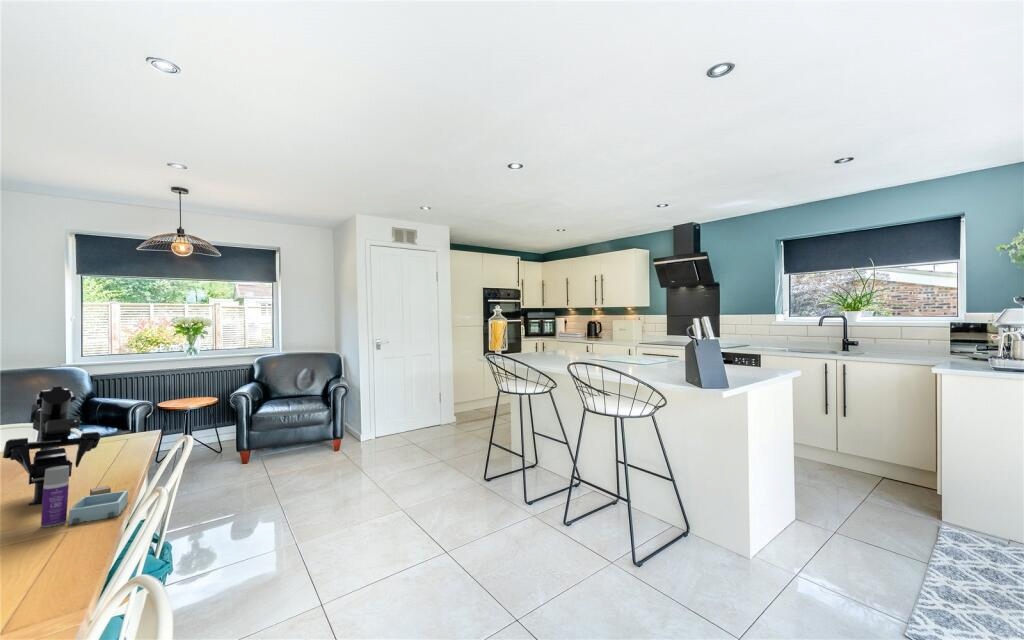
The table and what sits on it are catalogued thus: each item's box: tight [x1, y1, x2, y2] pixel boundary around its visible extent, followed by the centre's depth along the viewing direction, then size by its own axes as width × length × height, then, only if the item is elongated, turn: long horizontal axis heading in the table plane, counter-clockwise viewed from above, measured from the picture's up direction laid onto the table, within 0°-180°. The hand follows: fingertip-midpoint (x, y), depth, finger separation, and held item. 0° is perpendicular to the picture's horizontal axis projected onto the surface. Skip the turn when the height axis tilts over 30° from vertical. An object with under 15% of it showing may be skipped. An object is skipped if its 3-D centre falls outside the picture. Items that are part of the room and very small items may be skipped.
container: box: [40, 466, 70, 528], centre depth 113 cm, size 5×5×15 cm
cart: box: [68, 490, 129, 526], centre depth 120 cm, size 15×10×4 cm
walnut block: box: [89, 485, 112, 496], centre depth 129 cm, size 4×4×4 cm
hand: (54, 469), depth 118 cm, fingers open, 9 cm apart
